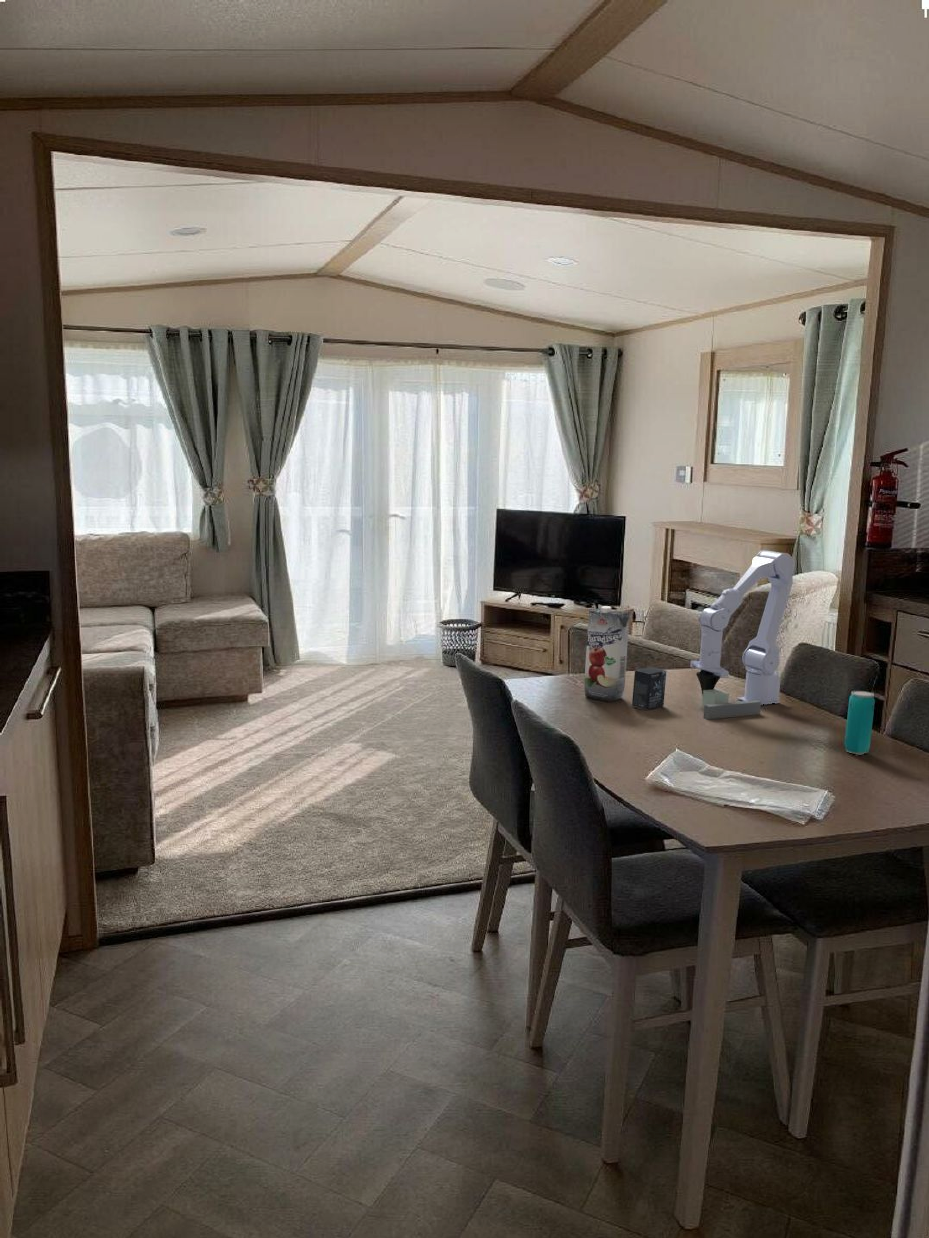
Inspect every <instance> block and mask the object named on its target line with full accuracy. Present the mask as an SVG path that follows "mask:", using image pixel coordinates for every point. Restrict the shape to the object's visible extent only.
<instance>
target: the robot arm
mask: <svg viewBox="0 0 929 1238" xmlns="http://www.w3.org/2000/svg"><path fill="white" fill-rule="evenodd" d="M795 567H796V563H795V560H794V558H793V557H792V556H791V554H790V553H787V552H778V551H774V550H773V551H771V550H769V549H762V550H760V551H759V552H758V553H757V554H756V556H754V557H753V558H752V563H751V565H750V566H749V568H748V569H746V571H745V573H744V574H743V575H742V576H741V578H740V579H739V580H738V581H737V583H736V584H735V585H734V586H733V588H727V589H723V591H722V592H721V595H720V596H719V597H718V598H717V600H715V602H713V603H711V605H710V606H709V607H707V608H704V609H703V610H702V611H701V612H700V615H699V616H698V618H697V620H698V624H699V625H700V631H701V637H700V651H699V652H700V653H699V660H690V666H689V668H691V669H697V670H700V671H699V672H696V677H697V679H698V682H699V684H700V690H701V694H702V697H703V690H712V689H715V687H716V685H717V683H718V682H719V680H720V679H728V678H729V670H727V669H725V668H723V667H722V666H721V657H722V644H723V634H724V632H723V631H724V629H725V628H727V627H728V625H729V622H730V621H729V620H730V619H731V617H732V616H731V615H733V613H734V612H735V611H736V610H737V609H738V608H739V607H740V606H741V605H742V604H743V602H744V597H743V596H745V595H746V594H747V593H748V592H749V590H751V589H752V588H753V586H755V585H756V584H757V583H758V582H759V581H760V580H761V579H763V578H766V579H767V580H768V582H769V583H770V585H771V586H770V589H769V593H768V596H767V599H766V601H765V602H766V603H765V607H764V611H763V613H762V616H761V620H760V624H759V627H758V630H757V635H756V637H754V638H753V639H751V640H750V641H748V644H747V647H746V649H745V650H744V651H743V653H742V655H741V656H742V657H741V659H742V663H743V665H744V666H745V670H746V673H745V674H746V677H745V686H744V696H738V697H737V700H740V701H752V700H757V701H760V702H761V706H763V704H764V705H773V704H772V703H775V704H780V703H781V700H779V698H780V690H781V687H780V686H781V678H780V676H779V674H778V673H777V670H778V669H779V666H780V654H781V649H780V647H779V645H778V644H777V642H776V641H777V638H778V634H779V631H780V628H781V625H782V621H783V618H784V616H785V615H784V614H785V611H786V607H787V604H788V600H789V597H790V593H791V590H792V587H793V581H794V580H793V578H794V577H793V574H794V570H795Z"/></svg>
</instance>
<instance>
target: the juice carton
mask: <svg viewBox="0 0 929 1238" xmlns="http://www.w3.org/2000/svg"><path fill="white" fill-rule="evenodd" d="M629 624H630V611H627V610H614V609H612V606H608V605H603V606H601V607H598V608H595V609H591V610H589V612H588V622H587V632H586V633H587V634H586V635H587V636H586V650H585V651H586V652H585V653H586V654H585V668H584V696H585V698H588V697H591V698H590V699H593V698H595V699H594V700H598V699H599V701H604V702H609V703H613V702H614V701H617V700H620V699H622V698H623V696H624V695H623V694H624V691H625V686H626V673H627V672H626V671H627V661H628V660H627V658H628V643H629V642H628V641H629V627H630V625H629ZM619 698H620V699H619Z"/></svg>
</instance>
